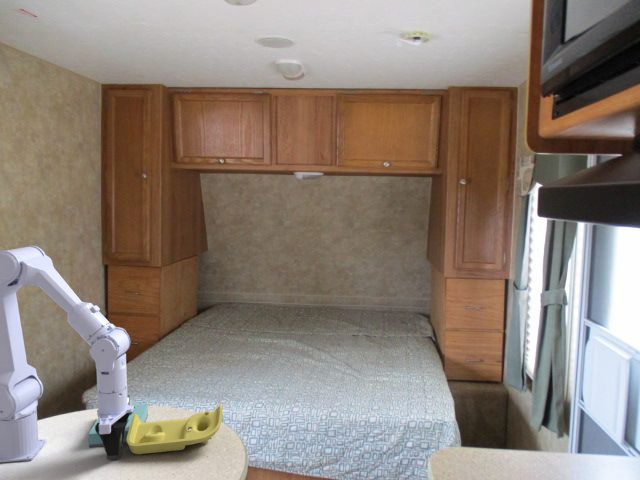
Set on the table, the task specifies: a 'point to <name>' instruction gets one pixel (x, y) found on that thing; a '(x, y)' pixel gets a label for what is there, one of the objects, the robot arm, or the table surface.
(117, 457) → the peg
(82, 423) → the table surface
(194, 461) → the table surface
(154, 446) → the plastic component
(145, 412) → the housing
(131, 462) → the table surface
